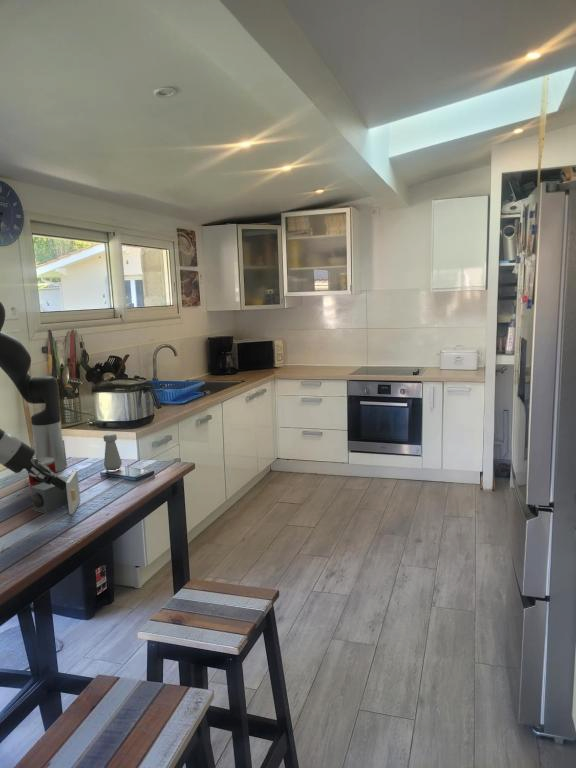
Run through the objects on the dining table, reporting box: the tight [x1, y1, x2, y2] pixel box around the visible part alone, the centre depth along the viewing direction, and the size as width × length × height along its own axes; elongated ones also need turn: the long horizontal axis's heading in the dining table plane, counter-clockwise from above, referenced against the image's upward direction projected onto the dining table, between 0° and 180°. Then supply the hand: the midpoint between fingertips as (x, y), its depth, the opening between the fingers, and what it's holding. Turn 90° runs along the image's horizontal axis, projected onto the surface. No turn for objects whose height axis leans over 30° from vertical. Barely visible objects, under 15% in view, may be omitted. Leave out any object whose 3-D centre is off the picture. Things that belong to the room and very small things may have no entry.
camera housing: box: [30, 469, 77, 515], centre depth 162 cm, size 12×6×9 cm, turn 149°
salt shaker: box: [103, 432, 122, 471], centre depth 192 cm, size 6×6×13 cm
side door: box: [66, 470, 81, 515], centre depth 160 cm, size 10×2×9 cm, turn 9°
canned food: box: [28, 457, 57, 496], centre depth 171 cm, size 8×8×11 cm
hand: (64, 486), depth 155 cm, fingers closed
